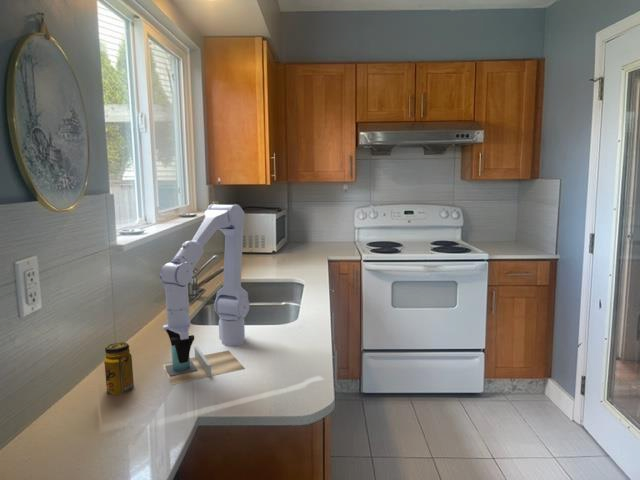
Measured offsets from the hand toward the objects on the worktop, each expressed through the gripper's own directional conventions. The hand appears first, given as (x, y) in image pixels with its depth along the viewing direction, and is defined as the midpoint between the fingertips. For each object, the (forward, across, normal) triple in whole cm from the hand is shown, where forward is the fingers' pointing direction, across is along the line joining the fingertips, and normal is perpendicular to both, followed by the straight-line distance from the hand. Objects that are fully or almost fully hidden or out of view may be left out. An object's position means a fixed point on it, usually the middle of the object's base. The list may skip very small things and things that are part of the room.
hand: (180, 357), depth 119 cm
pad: (+3, 0, 0) cm, 3 cm away
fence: (+3, +1, +6) cm, 6 cm away
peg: (+3, 0, 0) cm, 3 cm away
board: (+4, +1, +6) cm, 7 cm away
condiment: (+4, +4, -14) cm, 16 cm away
